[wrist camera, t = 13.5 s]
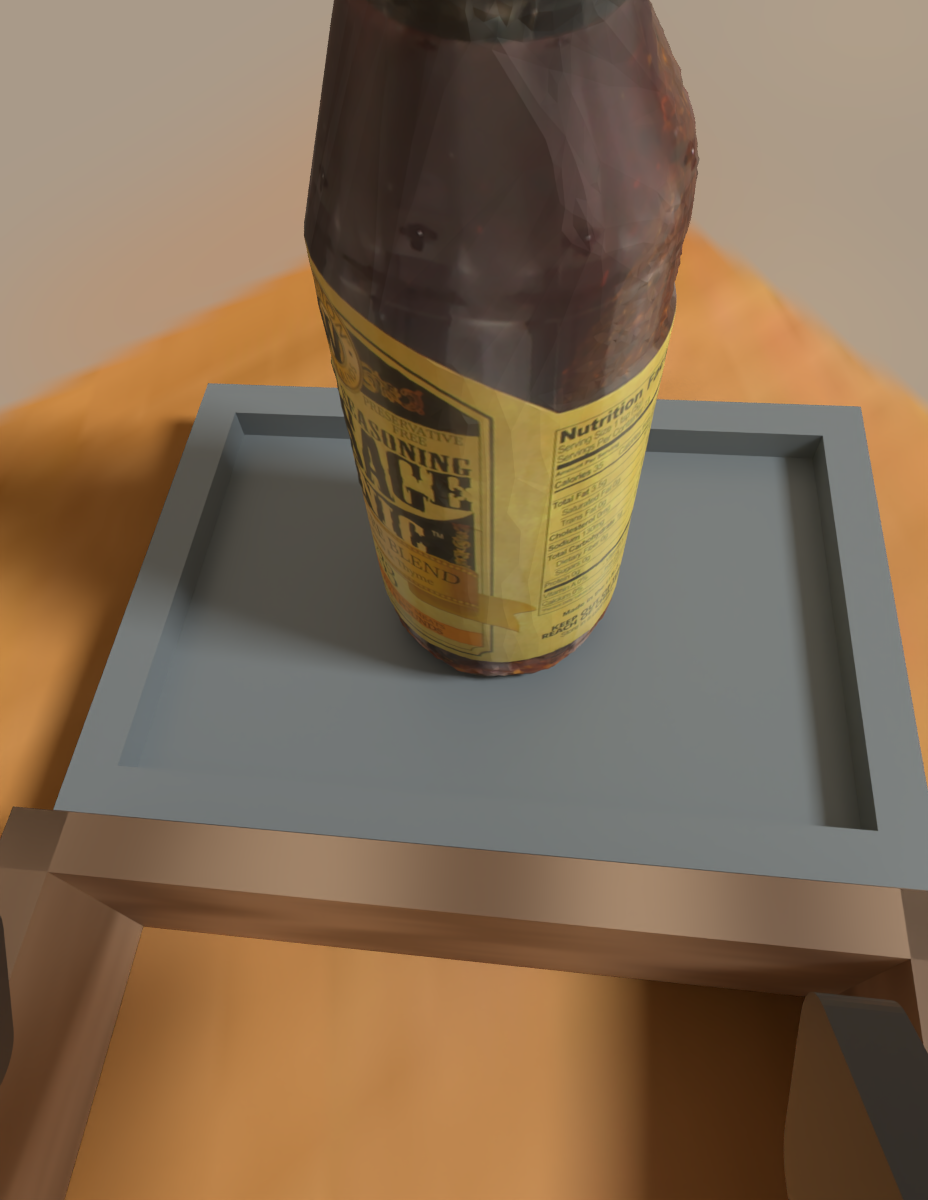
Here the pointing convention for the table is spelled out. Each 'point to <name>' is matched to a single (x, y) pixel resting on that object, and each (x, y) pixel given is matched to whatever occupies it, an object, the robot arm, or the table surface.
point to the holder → (385, 934)
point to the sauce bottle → (499, 300)
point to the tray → (537, 700)
